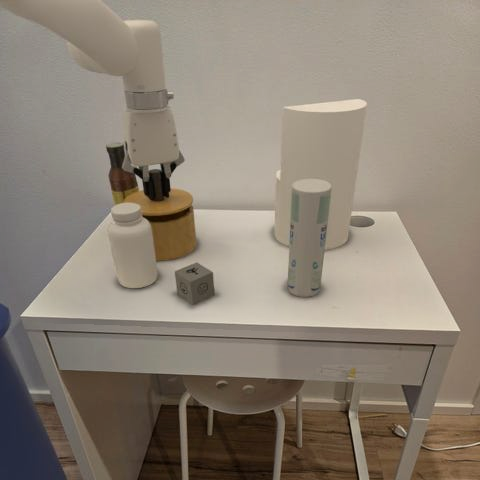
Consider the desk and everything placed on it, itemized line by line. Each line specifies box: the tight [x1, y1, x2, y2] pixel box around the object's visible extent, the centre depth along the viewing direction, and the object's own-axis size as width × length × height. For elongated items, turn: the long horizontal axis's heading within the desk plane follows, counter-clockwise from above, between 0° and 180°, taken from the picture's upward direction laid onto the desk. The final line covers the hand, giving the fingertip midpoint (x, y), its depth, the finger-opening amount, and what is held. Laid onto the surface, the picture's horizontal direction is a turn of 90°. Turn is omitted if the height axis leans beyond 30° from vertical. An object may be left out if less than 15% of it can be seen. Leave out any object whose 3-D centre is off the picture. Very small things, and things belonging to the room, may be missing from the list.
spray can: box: [287, 179, 332, 298], centre depth 77 cm, size 6×6×20 cm
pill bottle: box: [107, 203, 159, 289], centre depth 83 cm, size 8×8×15 cm
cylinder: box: [273, 98, 368, 251], centre depth 94 cm, size 17×17×28 cm
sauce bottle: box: [105, 141, 140, 206], centre depth 101 cm, size 7×6×20 cm
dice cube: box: [174, 261, 215, 306], centre depth 81 cm, size 5×5×5 cm
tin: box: [142, 204, 197, 261], centre depth 96 cm, size 14×14×8 cm
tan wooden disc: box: [123, 168, 194, 216], centre depth 91 cm, size 15×15×7 cm
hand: (157, 196), depth 92 cm, fingers closed on tan wooden disc, 2 cm apart
